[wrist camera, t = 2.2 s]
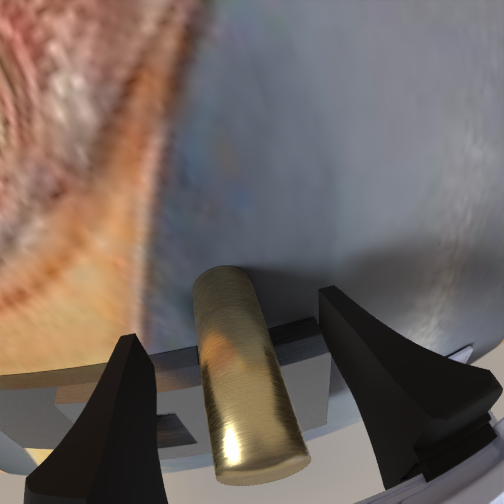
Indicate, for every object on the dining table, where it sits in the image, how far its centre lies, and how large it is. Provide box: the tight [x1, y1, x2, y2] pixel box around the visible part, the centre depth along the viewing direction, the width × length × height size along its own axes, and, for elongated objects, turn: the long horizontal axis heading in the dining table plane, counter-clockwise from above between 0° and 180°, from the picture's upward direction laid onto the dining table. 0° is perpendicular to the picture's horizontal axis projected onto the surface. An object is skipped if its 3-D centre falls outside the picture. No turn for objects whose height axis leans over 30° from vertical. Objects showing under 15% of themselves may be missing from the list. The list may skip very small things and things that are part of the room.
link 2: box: [54, 317, 331, 460], centre depth 16 cm, size 8×14×2 cm, turn 99°
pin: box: [193, 266, 311, 486], centre depth 10 cm, size 3×3×8 cm
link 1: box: [0, 346, 200, 449], centre depth 16 cm, size 8×18×1 cm, turn 99°
